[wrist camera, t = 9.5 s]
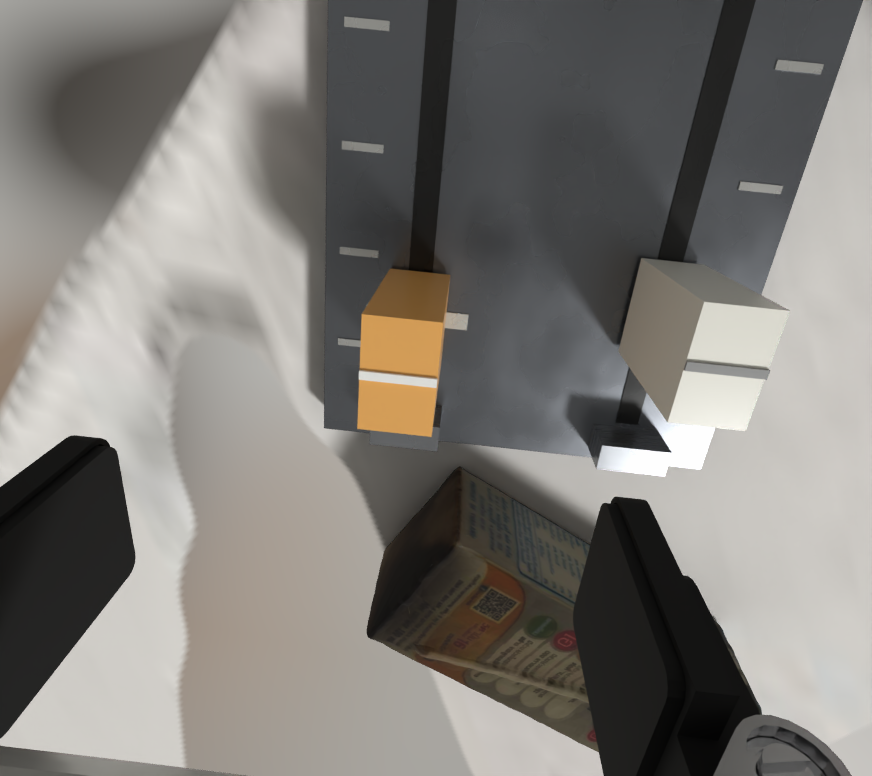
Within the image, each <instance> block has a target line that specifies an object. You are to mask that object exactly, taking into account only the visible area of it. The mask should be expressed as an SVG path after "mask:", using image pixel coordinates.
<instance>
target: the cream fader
mask: <svg viewBox="0 0 872 776" xmlns="http://www.w3.org/2000/svg"><path fill="white" fill-rule="evenodd" d="M789 313H790V311H789V310H788V309H786V308H784V307H782V306H780V305H778V304H776V303H775V302H773V301H771V300H769V299H767V298H765V297H763V296H762V295H760V294H758V293H756V292H754V291H752V290H750V289H749V288H747V287H745V286H743V285H741V284H739V283H737V282H736V281H734V280H732V279H730V278H728V277H726V276H724V275H723V274H721V273H719V272H717V271H715V270H713V269H711V268H710V267H708V266H706V265H704V264H694V263H684V262H675V261H665V260H656V259H646V258H641V261H640V265H639V270H638V274H637V278H636V282H635V286H634V290H633V294H632V298H631V302H630V306H629V310H628V314H627V318H626V322H625V326H624V330H623V335H622V339H621V343H620V347H619V351H618V352H619V353H620V355H621V356H622V358H623V359H624V361H625V362H626V363H627V365H628V366H629V368H630V369H631V371H632V372H633V374H634V375H635V376H636V378H637V379H638V381H639V382H640V384H641V385H642V386H643V388H644V389H645V391H646V392H647V394H648V395H649V397H650V398H651V399H652V401H653V402H654V404H655V405H656V407H657V408H658V410H659V411H660V412H661V414H662V415H663V417H664V418H665V420H666V421H667V422H668V423H676V424H685V425H694V426H703V427H712V428H722V429H731V430H740V431H746V428H747V426H748V423H749V420H750V418H751V415H752V412H753V410H754V407H755V404H756V402H757V399H758V396H759V394H760V391H761V388H762V386H763V383H764V380H767V378H768V375H769V372H770V370H769V367H770V364H771V361H772V359H773V356H774V353H775V351H776V348H777V345H778V343H779V340H780V337H781V335H782V332H783V329H784V327H785V324H786V321H787V319H788V316H789Z"/></svg>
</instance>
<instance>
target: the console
mask: <svg viewBox="0 0 872 776" xmlns="http://www.w3.org/2000/svg"><path fill="white" fill-rule="evenodd" d="M862 2H863V0H328V62H327V170H326V278H325V386H324V428H327V429H337V430H346V431H355V432H364V433H370V444H373V445H382V446H391V447H401V448H410V449H419V450H428V451H437V450H438V441H446V442H455V443H464V444H473V445H482V446H491V447H501V448H510V449H519V450H528V451H537V452H546V453H555V454H564V455H573V456H582V457H592V459H593V462H594V464H595V467H596V469H600V470H609V471H619V472H628V473H637V474H646V475H655V476H664V477H665V475H666V471H667V468H668V466H674V467H683V468H692V469H701V467H702V464H703V462H704V459H705V456H706V453H707V450H708V447H709V444H710V441H711V438H712V436H713V433H714V430H715V428H712V427H703V426H694V425H685V424H676V423H668V422H667V421H666V420H665V418H664V417H663V415H662V414H661V412H660V411H659V410H658V408H657V407H656V405H655V404H654V402H653V401H652V399H651V398H650V397H649V395H648V394H647V392H646V391H645V389H644V388H643V386H642V385H641V384H640V382H639V381H638V379H637V378H636V376H635V375H634V374H633V372H632V371H631V369H630V368H629V366H628V365H627V363H626V362H625V361H624V359H623V358H622V356H621V355H620V353H619V352H618V351H619V347H620V343H621V339H622V335H623V330H624V326H625V322H626V318H627V314H628V310H629V306H630V302H631V298H632V294H633V290H634V286H635V282H636V278H637V274H638V270H639V265H640V261H641V258H646V259H656V260H665V261H675V262H684V263H694V264H704V265H706V266H708V267H710V268H711V269H713V270H715V271H717V272H719V273H721V274H723V275H724V276H726V277H728V278H730V279H732V280H734V281H736V282H737V283H739V284H741V285H743V286H745V287H747V288H749V289H750V290H752V291H754V292H756V293H758V294H760V295H761V294H762V291H763V288H764V285H765V282H766V279H767V276H768V274H769V271H770V268H771V265H772V262H773V259H774V256H775V253H776V250H777V248H778V245H779V242H780V239H781V236H782V233H783V230H784V227H785V224H786V222H787V219H788V216H789V213H790V210H791V207H792V204H793V201H794V198H795V196H796V193H797V190H798V187H799V184H800V181H801V178H802V175H803V172H804V170H805V167H806V164H807V161H808V158H809V155H810V152H811V149H812V146H813V143H814V141H815V138H816V135H817V132H818V129H819V126H820V123H821V120H822V117H823V115H824V112H825V109H826V106H827V103H828V100H829V97H830V94H831V91H832V89H833V86H834V83H835V80H836V77H837V74H838V71H839V68H840V65H841V63H842V60H843V57H844V54H845V51H846V48H847V45H848V42H849V39H850V37H851V34H852V31H853V28H854V25H855V22H856V19H857V16H858V13H859V10H860V8H861V5H862ZM389 269H400V270H409V271H419V272H428V273H438V274H447V275H450V283H449V293H448V303H447V312H446V322H445V331H444V341H443V351H442V360H441V369H440V376H439V384H438V391H437V399H436V407H435V414H434V422H433V430H432V437H427V436H418V435H409V434H400V433H391V432H382V431H373V430H363V429H357V424H358V398H359V370H360V345H361V319H362V313H363V311H364V310H365V308H366V306H367V305H368V303H369V302H370V300H371V298H372V297H373V295H374V293H375V292H376V290H377V289H378V287H379V285H380V284H381V282H382V281H383V279H384V277H385V276H386V274H387V273H388V271H389Z"/></svg>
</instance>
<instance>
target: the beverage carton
mask: <svg viewBox="0 0 872 776" xmlns="http://www.w3.org/2000/svg"><path fill="white" fill-rule="evenodd" d="M589 549H590V545H589V544H587V543H585V542H584V541H582V540H580V539H579V538H577V537H575V536H574V535H572V534H570V533H569V532H567V531H565V530H564V529H562V528H560V527H559V526H557V525H556V524H554V523H552V522H550V521H549V520H547V519H545V518H544V517H542V516H540V515H539V514H537V513H535V512H534V511H532V510H530V509H529V508H527V507H525V506H524V505H522V504H521V503H519V502H517V501H516V500H514V499H512V498H510V497H509V496H507V495H505V494H504V493H502V492H501V491H499V490H497V489H495V488H493V487H492V486H490V485H489V484H487V483H485V482H484V481H482V480H481V479H479V478H477V477H475V476H473V475H471V474H470V473H468V472H467V471H465V470H464V469H462V468H461V467H459V468H457V469H456V470H455V471H454V472H453V473H452V474H451V475H450V477H449V478H448V479H447V480H446V481H445V482H444V483H443V485H442V486H441V487H440V488H439V490H438V491H437V492H436V493H435V495H434V496H433V497H432V498H431V499H430V500H429V501H428V502H427V503H426V505H425V506H424V507H423V508H422V509H421V510H420V511H419V513H418V514H416V515H415V516H414V517H413V518H412V520H411V521H410V522H409V523H408V524H407V526H406V527H405V528H404V529H403V530H402V531H401V532H400V533H399V534H398V536H397V537H396V538H395V539H394V541H393V542H392V543H391V544H390V545H389V546H388V547H387V548H386V549H385V551H384V554H383V559H382V562H381V567H380V572H379V576H378V579H377V583H376V590H375V594H374V598H373V602H372V606H371V611H370V617H369V620H368V626H367V635H368V637H369V638H370V639H373V640H376V641H379V642H381V643H383V644H385V645H386V646H388V647H390V648H391V649H393V650H395V651H397V652H399V653H401V654H403V655H405V656H407V657H409V658H411V659H413V660H415V661H417V662H419V663H421V664H423V665H425V666H427V667H429V668H431V669H433V670H436V671H438V672H440V673H442V674H444V675H446V676H448V677H450V678H452V679H454V680H456V681H457V682H459V683H461V684H463V685H465V686H467V687H469V688H471V689H473V690H475V691H477V692H480V693H482V694H484V695H486V696H488V697H490V698H492V699H494V700H495V701H497V702H500V703H502V704H504V705H506V706H508V707H510V708H512V709H514V710H516V711H519V712H521V713H523V714H525V715H527V716H529V717H531V718H532V719H534V720H536V721H538V722H540V723H543V724H545V725H546V726H548V727H550V728H552V729H554V730H556V731H558V732H560V733H562V734H564V735H566V736H568V737H570V738H572V739H573V740H575V741H577V742H578V743H581V744H583V745H585V746H587V747H589V748H591V749H593V750H595V751H597V752H599V750H598V745H597V740H596V735H595V730H594V725H593V720H592V715H591V710H590V705H589V701H588V696H587V691H586V686H585V681H584V676H583V671H582V666H581V661H580V656H579V651H578V646H577V642H576V637H575V632H574V626H573V609H574V605H575V601H576V597H577V593H578V590H579V586H580V582H581V578H582V575H583V571H584V567H585V564H586V560H587V556H588V552H589ZM714 622H715V621H714ZM715 624H716V626H717V628H718V630H719V632H720V634H721V636H722V638H723V640H724V642H725V644H726V646H727V648H728V650H729V652H730V654H731V656H732V658H733V660H734V662H735V664H736V666H737V668H738V670H739V672H740V674H741V676H742V678H743V680H744V682H745V684H746V686H747V688H748V690H749V692H750V694H751V696H752V698H753V700H754V702H755V704H756V706H757V708H758V710H759V713H760V715H762V711H761V707H760V705H759V704H758V702H757V700H756V698H755V696H754V694H753V692H752V690H751V688H750V686H749V683H748V681H747V679H746V677H745V675H744V674H743V672H742V670H741V667H740V665H739V662H738V660H737V658H736V656H735V654H734V651H733V649H732V647H731V646H730V644H729V643H728V641H727V639H726V637H725V635H724V632H723V630H722V628H721V627H720V625H719V624H718V623H716V622H715Z"/></svg>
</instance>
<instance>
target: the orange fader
mask: <svg viewBox="0 0 872 776" xmlns="http://www.w3.org/2000/svg"><path fill="white" fill-rule="evenodd" d="M449 283H450V275H447V274H438V273H428V272H419V271H409V270H400V269H389V271H388V273H387V274H386V276H385V277H384V279H383V281H382V282H381V284H380V285H379V287H378V289H377V290H376V292H375V293H374V295H373V297H372V298H371V300H370V302H369V303H368V305H367V306H366V308H365V310H364V311H363V313H362V319H361V345H360V370H359V398H358V424H357V429H363V430H373V431H382V432H391V433H400V434H409V435H418V436H427V437H432V430H433V422H434V414H435V407H436V399H437V391H438V384H439V376H440V369H441V360H442V351H443V341H444V331H445V322H446V312H447V303H448V293H449Z"/></svg>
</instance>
